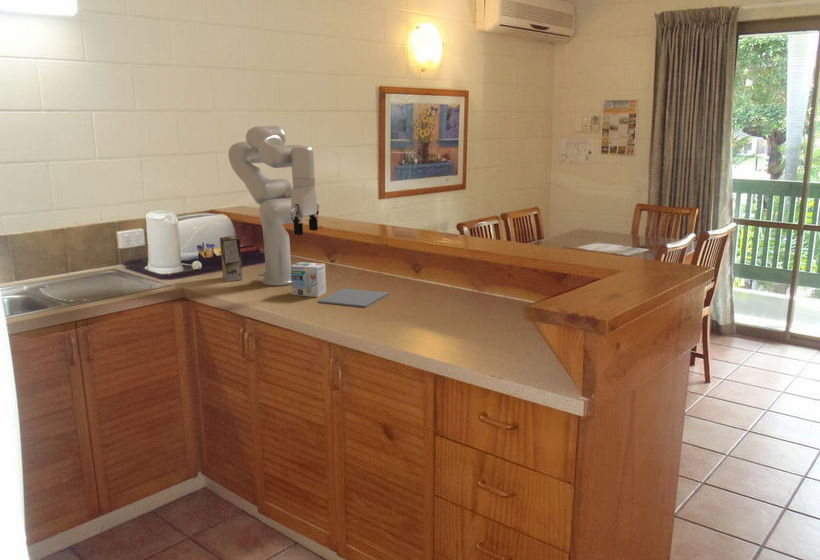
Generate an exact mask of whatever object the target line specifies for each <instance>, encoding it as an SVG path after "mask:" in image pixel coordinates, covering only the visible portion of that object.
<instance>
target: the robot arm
mask: <svg viewBox="0 0 820 560" xmlns="http://www.w3.org/2000/svg"><path fill="white" fill-rule="evenodd" d="M286 142H287V141H286V134H285V131H284V130H283V129H282V128H281V127H280V126H277V125H264V126H263V125H259V126H253V127H251V128H249V129H248V130H247V131H246V134H245V141H238V142H236V143H233V144H232V145H231V146H230V147H229V149H228V155H227V156H228V160H229V165H230V166H231V168H232V170H233V171H234V173H235V174H236V175H237V177H238V178H239V179H240V180H241V181H242V182H243V183H244V185H245V187H246V189H247V191H248V192H249V194H250V196H251V197H252V198H253V200H254V201H255V202H256V203H257V204H258V205H259V207H258V214H259V218H260V222H261V227H262V234H263V235H262V236H263V246H264V247H263V248H264V249H263V250H264V260H265V261H264V263H265V269H260V270H259V272H258V276H260V277H263V278H262V284H263V285H265V286H271V287H273V286H274V287H276V286H279V287H280V286H287V285H292V284H291V265H292V262H291V261H292V260H291V243H290V235H289V232H288V231H287V230H286V228H285V226H283V225H287V224H292V223H293V234H294V235H295V236H303V235H304V227H303V225H304V224H303V223H302V222H303V220H304V219H305V218H306V217H309V218H308V227H309V228H308V230H309V231H315V232H316V231H319V227H318V225H319V223H318V219H319V212H320V205H319V204H318V202H317V199H318V198H317V192H316V180H315V179H316V178H315V160H314V159H315V158H314V149H313V147H311V146H309V145H308V146H307V145H306V146H305V145H300V144H289V145H288V144H287V145H286ZM254 164H264V165H266V166H268V167H271V168H273V169H279V168H280V169H285V168H291V175H292V179H291V180H292V182H291V181H290V180H288V179H285V178H275V179H274V178H273V179H271V178H268V177H267V175H266V174H265V173H264V171H263V170H262V169H261V168H260V167H258V166H256V165H254Z"/></svg>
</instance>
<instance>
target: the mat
mask: <svg viewBox="0 0 820 560" xmlns="http://www.w3.org/2000/svg"><path fill="white" fill-rule="evenodd" d="M387 296H389V292H387V291H386V292H385V291H377V290H374V291H373V290H365V289H364V290H363V289H362V290H361V289H354V288H353V289H352V288H341V289H339V290H338V291H336V292H334V293H331V294H328V295H327V296H326V297H322V298H321V299H318V300H317V302H318V303H320V304H321V303H322V304H328V305H330V304H331V305H339V306H346V307H347V306H348V307H356V308H365V309H366V308H367V307H369V306H371V305H373V304H375V303H376V302H378V301H379V300H381V299H383V298H384V297H387Z"/></svg>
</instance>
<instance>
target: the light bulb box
mask: <svg viewBox="0 0 820 560" xmlns="http://www.w3.org/2000/svg"><path fill="white" fill-rule="evenodd" d="M326 275H327V274H326V264H325V263H324V262H322V263H321V262H320V263H318V262H303V261H302V262H301V261H299V262H297V263H293V264H291V284H290V285H291V295H292V296H302V297H303V296H304V297H312V298H313V297H314V298H319V297H321V296H323V295H324V294H326V293H327V279H326V277H327V276H326Z"/></svg>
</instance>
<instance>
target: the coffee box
mask: <svg viewBox="0 0 820 560" xmlns="http://www.w3.org/2000/svg"><path fill="white" fill-rule="evenodd" d="M219 244H220V255H221V265H222V277H223V279H224V280H225V281H226V282H234V281H242V280H243V279H244V277H243V268H242V267H243V266H242V252H241V240H240V238H238V237H237V236H236V235H233V236H232V235H231V236H223V237H219Z"/></svg>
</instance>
